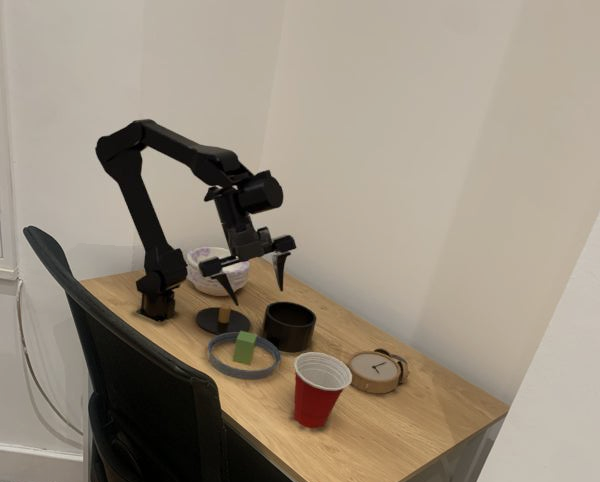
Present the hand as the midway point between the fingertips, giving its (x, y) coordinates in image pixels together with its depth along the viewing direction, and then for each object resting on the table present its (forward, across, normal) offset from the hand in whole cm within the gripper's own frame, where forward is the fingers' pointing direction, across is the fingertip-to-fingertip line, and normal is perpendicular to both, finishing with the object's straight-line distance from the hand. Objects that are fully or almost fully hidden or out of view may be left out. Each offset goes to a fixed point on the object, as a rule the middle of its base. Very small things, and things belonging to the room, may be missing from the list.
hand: (259, 298), depth 126 cm
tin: (+13, +5, +14) cm, 20 cm away
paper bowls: (0, -5, +35) cm, 36 cm away
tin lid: (+6, -7, +18) cm, 20 cm away
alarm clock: (+25, +20, +3) cm, 32 cm away
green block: (+12, -6, +5) cm, 14 cm away
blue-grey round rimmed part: (+12, -7, +5) cm, 15 cm away
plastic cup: (+23, 0, -12) cm, 26 cm away
